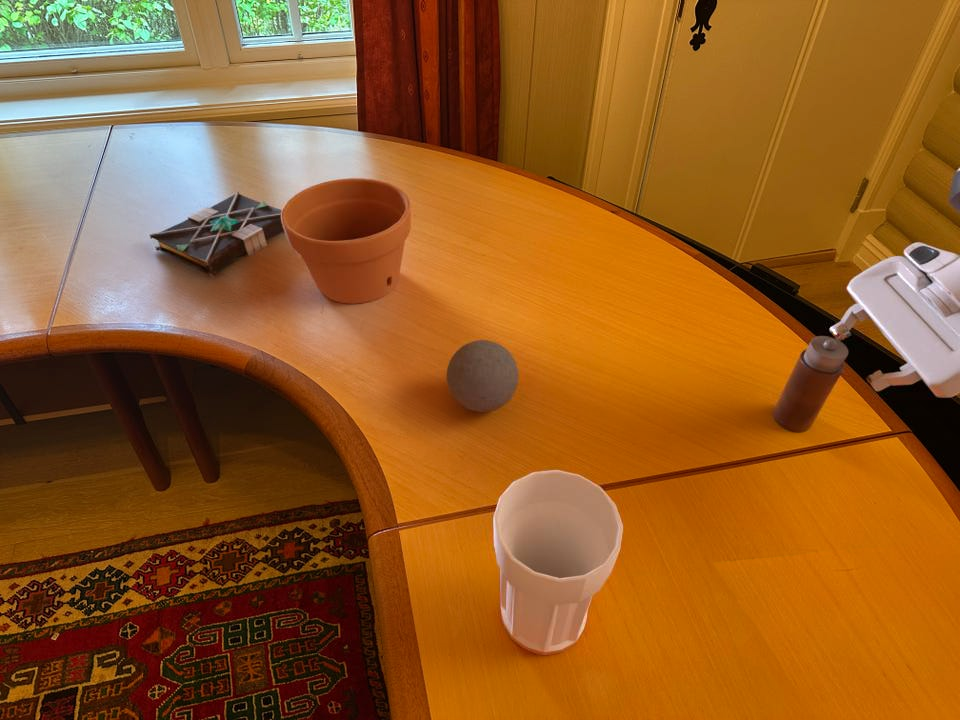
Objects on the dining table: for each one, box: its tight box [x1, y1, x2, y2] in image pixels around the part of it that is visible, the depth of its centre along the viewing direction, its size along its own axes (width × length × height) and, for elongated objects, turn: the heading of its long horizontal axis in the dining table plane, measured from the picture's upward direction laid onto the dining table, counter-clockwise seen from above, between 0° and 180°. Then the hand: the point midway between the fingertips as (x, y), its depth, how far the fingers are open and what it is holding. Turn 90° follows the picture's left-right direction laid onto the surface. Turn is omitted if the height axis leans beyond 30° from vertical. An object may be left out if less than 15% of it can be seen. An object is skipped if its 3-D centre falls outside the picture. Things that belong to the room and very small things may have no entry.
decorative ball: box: [446, 339, 519, 413], centre depth 84 cm, size 10×10×10 cm
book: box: [149, 190, 285, 279], centre depth 118 cm, size 22×17×5 cm
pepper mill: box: [772, 335, 849, 433], centre depth 80 cm, size 5×5×14 cm
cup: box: [492, 469, 624, 656], centre depth 59 cm, size 11×11×17 cm
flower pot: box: [281, 177, 412, 305], centre depth 104 cm, size 21×21×15 cm
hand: (851, 359), depth 78 cm, fingers open, 8 cm apart
